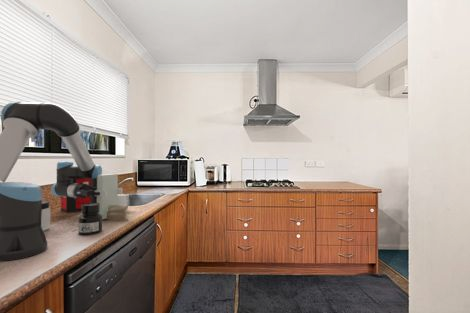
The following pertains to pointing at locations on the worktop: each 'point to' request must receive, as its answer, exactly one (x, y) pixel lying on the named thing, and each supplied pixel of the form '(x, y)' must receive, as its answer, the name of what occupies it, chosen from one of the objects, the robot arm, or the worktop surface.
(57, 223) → the worktop surface
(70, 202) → the cleaning product box
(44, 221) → the jar
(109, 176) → the pale green panel
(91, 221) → the ink bottle
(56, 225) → the worktop surface
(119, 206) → the slotted rail
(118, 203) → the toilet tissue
